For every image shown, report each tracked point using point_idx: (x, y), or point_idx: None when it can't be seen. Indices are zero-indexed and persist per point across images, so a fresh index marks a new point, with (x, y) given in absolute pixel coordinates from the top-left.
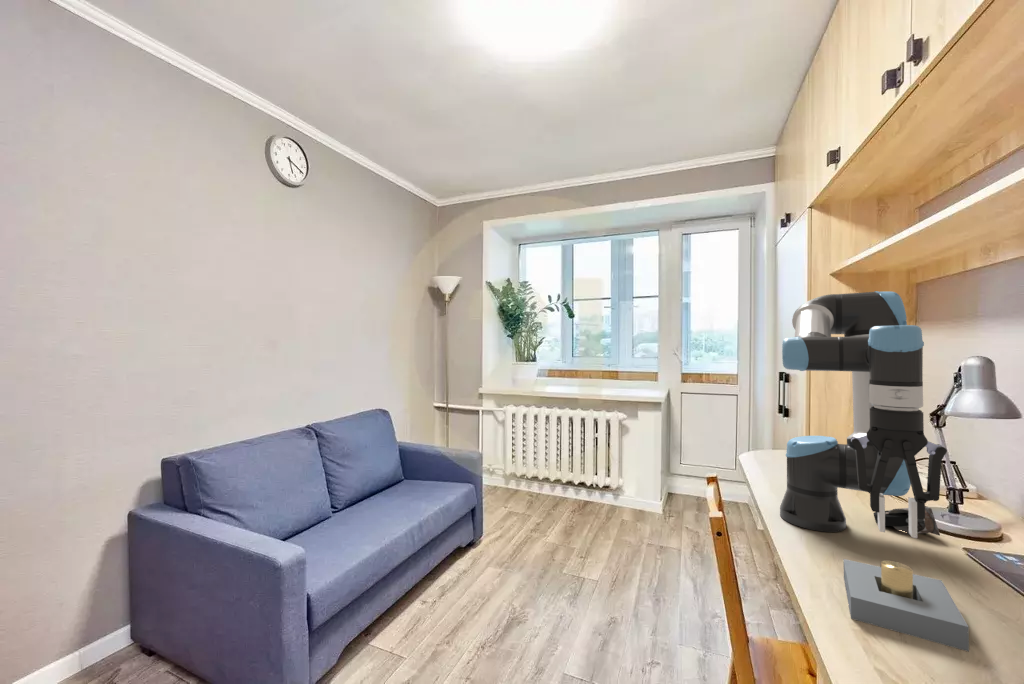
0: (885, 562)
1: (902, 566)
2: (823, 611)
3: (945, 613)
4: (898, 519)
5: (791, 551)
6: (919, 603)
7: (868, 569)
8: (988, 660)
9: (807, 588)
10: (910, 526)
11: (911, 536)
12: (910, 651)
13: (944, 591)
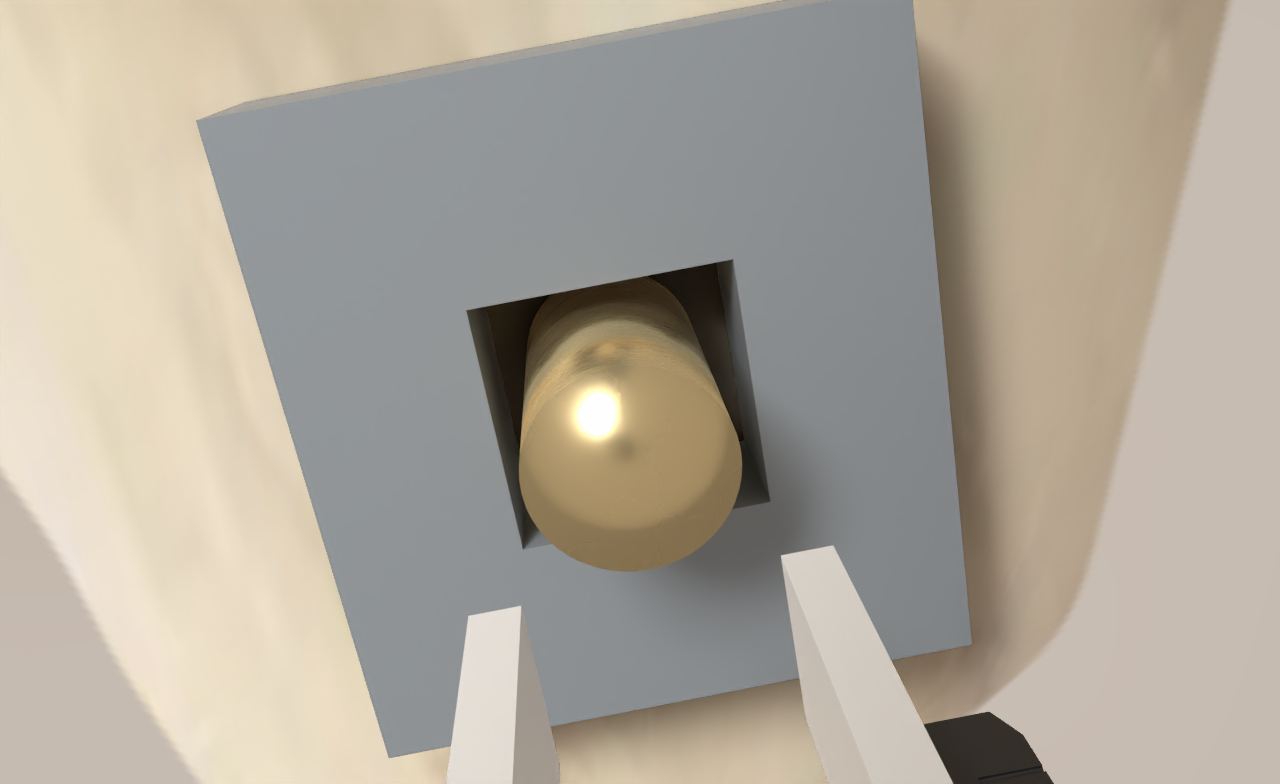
0: (548, 445)
1: (671, 430)
2: (269, 700)
3: (878, 571)
4: None
5: None
6: (749, 547)
7: (410, 208)
8: (992, 585)
9: (102, 486)
10: (819, 717)
11: (803, 704)
12: (684, 764)
13: (907, 211)
